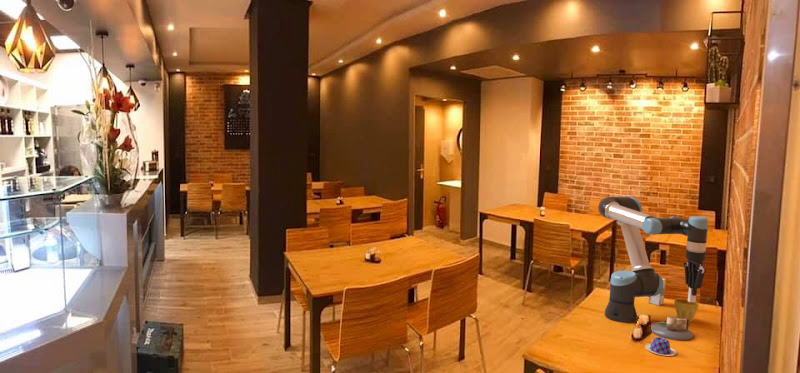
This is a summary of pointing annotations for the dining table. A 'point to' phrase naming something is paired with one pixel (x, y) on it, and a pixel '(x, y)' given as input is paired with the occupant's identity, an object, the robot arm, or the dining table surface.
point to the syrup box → (658, 296)
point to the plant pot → (685, 309)
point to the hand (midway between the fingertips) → (691, 301)
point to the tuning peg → (676, 323)
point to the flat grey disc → (671, 332)
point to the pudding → (660, 347)
